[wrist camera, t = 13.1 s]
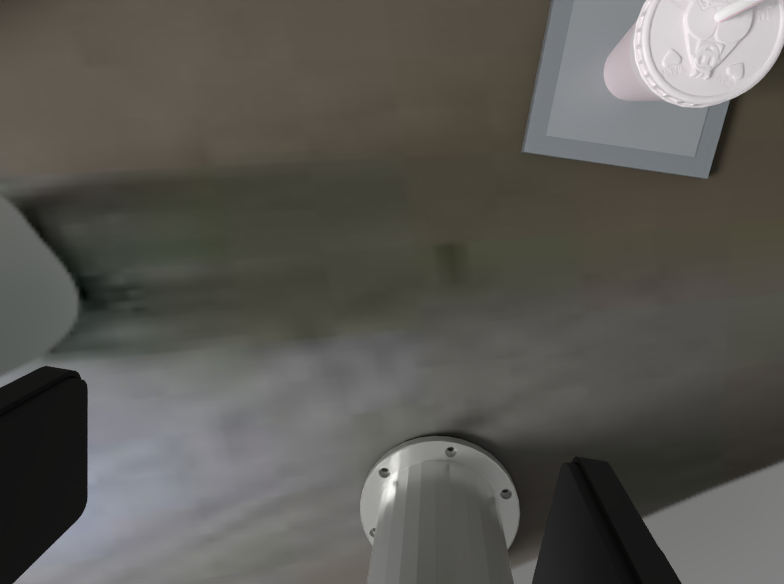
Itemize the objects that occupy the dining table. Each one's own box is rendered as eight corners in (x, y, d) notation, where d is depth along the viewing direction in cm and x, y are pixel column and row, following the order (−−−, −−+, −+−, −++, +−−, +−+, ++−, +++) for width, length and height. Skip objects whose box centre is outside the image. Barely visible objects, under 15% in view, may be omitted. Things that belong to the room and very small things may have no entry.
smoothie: (701, 24, 32) (903, -85, 18) (668, 132, 33) (832, 107, 20) (597, 5, 32) (719, -116, 18) (569, 113, 33) (663, 75, 20)
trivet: (699, 178, 35) (708, 178, 34) (521, 152, 35) (523, 151, 34) (755, -20, 32) (766, -26, 31) (560, -45, 32) (564, -53, 31)
